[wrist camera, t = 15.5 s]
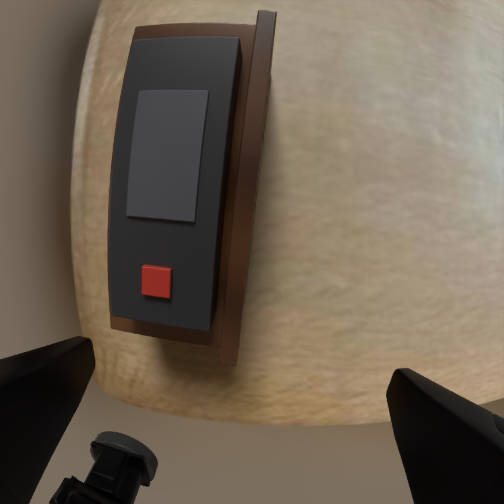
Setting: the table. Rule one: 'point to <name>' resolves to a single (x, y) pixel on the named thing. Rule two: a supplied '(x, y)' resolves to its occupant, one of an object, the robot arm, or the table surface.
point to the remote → (172, 179)
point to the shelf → (238, 188)
